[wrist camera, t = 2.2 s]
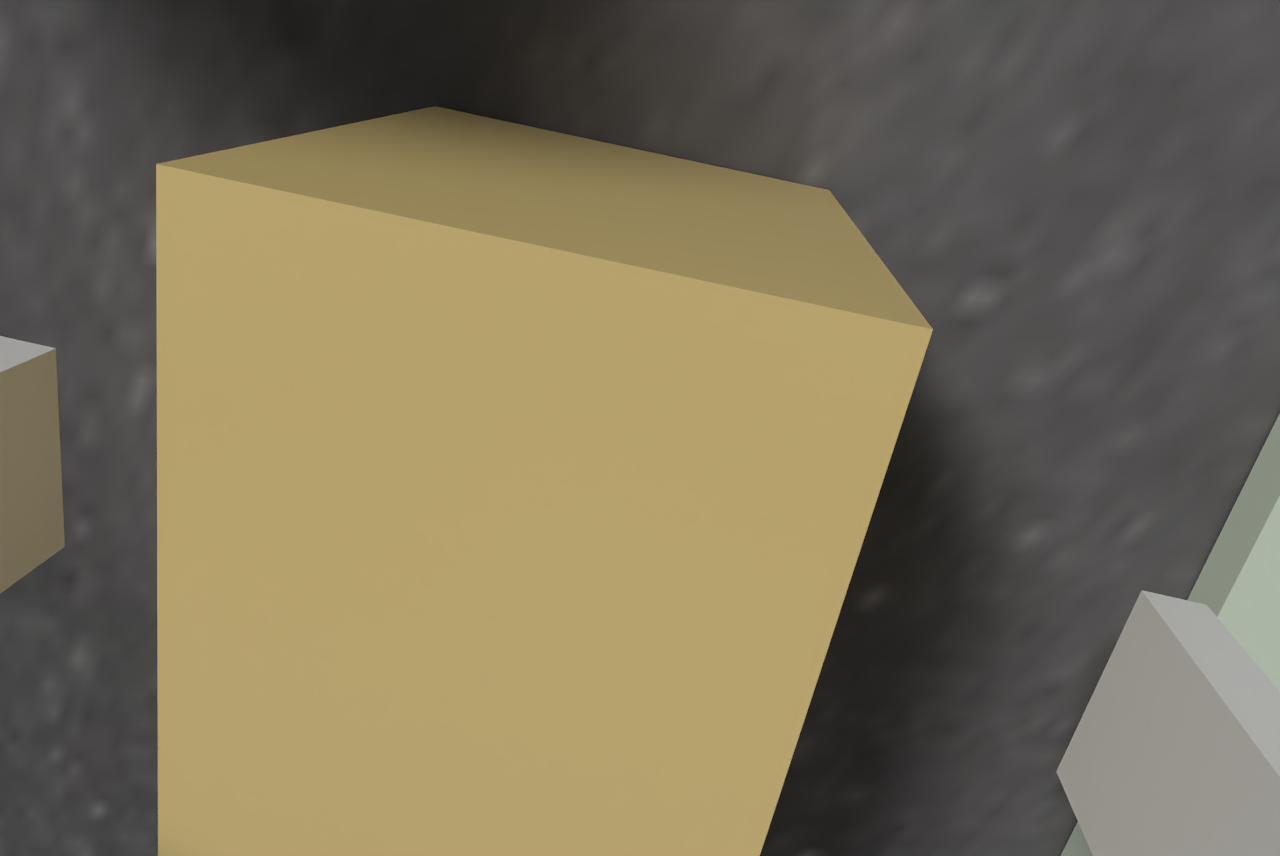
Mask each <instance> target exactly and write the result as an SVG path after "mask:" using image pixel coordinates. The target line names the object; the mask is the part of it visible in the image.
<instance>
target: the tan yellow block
mask: <svg viewBox="0 0 1280 856" xmlns="http://www.w3.org/2000/svg"><path fill="white" fill-rule="evenodd" d="M156 236H157V620H158V856H760V853H761V850H762V847H763V844H764V841H765V838H766V835H767V832H768V829H769V826H770V823H771V820H772V817H773V814H774V811H775V808H776V805H777V802H778V799H779V796H780V793H781V790H782V787H783V784H784V780H785V777H786V774H787V771H788V768H789V765H790V762H791V759H792V756H793V753H794V750H795V747H796V744H797V741H798V738H799V735H800V732H801V729H802V726H803V723H804V720H805V717H806V714H807V711H808V708H809V705H810V701H811V698H812V695H813V692H814V689H815V686H816V683H817V680H818V677H819V674H820V671H821V668H822V665H823V662H824V659H825V656H826V653H827V650H828V647H829V644H830V641H831V638H832V635H833V632H834V629H835V626H836V623H837V619H838V616H839V613H840V610H841V607H842V604H843V601H844V598H845V595H846V592H847V589H848V586H849V583H850V580H851V577H852V574H853V571H854V568H855V565H856V562H857V559H858V556H859V553H860V550H861V547H862V544H863V540H864V537H865V534H866V531H867V528H868V525H869V522H870V519H871V516H872V513H873V510H874V507H875V504H876V501H877V498H878V495H879V492H880V489H881V486H882V483H883V480H884V477H885V474H886V471H887V468H888V465H889V461H890V458H891V455H892V452H893V449H894V446H895V443H896V440H897V437H898V434H899V431H900V428H901V425H902V422H903V419H904V416H905V413H906V410H907V407H908V404H909V401H910V398H911V395H912V392H913V389H914V386H915V383H916V379H917V376H918V373H919V370H920V367H921V364H922V361H923V358H924V355H925V352H926V349H927V346H928V343H929V340H930V337H931V334H932V331H933V329H932V328H931V326H930V325H929V324H928V322H927V321H926V320H925V318H924V317H923V316H922V314H921V313H920V312H919V310H918V309H917V308H916V306H915V305H914V304H913V302H912V301H911V300H910V298H909V297H908V296H907V294H906V293H905V291H904V290H903V289H902V287H901V286H900V285H899V283H898V282H897V281H896V279H895V278H894V277H893V275H892V274H891V273H890V271H889V270H888V269H887V267H886V266H885V265H884V263H883V262H882V261H881V259H880V258H879V257H878V255H877V254H876V252H875V251H874V250H873V248H872V247H871V246H870V244H869V243H868V242H867V240H866V239H865V238H864V236H863V235H862V234H861V232H860V231H859V230H858V228H857V227H856V226H855V224H854V223H853V222H852V220H851V219H850V217H849V216H848V215H847V213H846V212H845V211H844V209H843V208H842V207H841V205H840V204H839V203H838V201H837V200H836V199H835V197H834V196H833V195H832V193H831V192H830V191H829V190H826V189H822V188H817V187H812V186H807V185H803V184H798V183H793V182H789V181H784V180H779V179H775V178H770V177H765V176H760V175H756V174H751V173H746V172H742V171H737V170H732V169H728V168H723V167H718V166H714V165H709V164H704V163H699V162H695V161H690V160H685V159H681V158H676V157H671V156H667V155H662V154H657V153H653V152H648V151H643V150H638V149H634V148H629V147H624V146H620V145H615V144H610V143H606V142H601V141H596V140H592V139H587V138H582V137H577V136H573V135H568V134H563V133H559V132H554V131H549V130H545V129H540V128H535V127H530V126H526V125H521V124H516V123H512V122H507V121H502V120H498V119H493V118H488V117H484V116H479V115H474V114H469V113H465V112H460V111H455V110H451V109H446V108H441V107H437V106H433V107H428V108H424V109H419V110H414V111H409V112H404V113H400V114H395V115H390V116H385V117H380V118H376V119H371V120H366V121H361V122H356V123H352V124H347V125H342V126H337V127H332V128H328V129H323V130H318V131H313V132H308V133H304V134H299V135H294V136H289V137H284V138H279V139H275V140H270V141H265V142H260V143H255V144H251V145H246V146H241V147H236V148H231V149H227V150H222V151H217V152H212V153H207V154H203V155H198V156H193V157H188V158H183V159H179V160H174V161H169V162H164V163H159V164H156Z"/></svg>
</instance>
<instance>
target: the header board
mask: <svg viewBox="0 0 1280 856" xmlns="http://www.w3.org/2000/svg"><path fill="white" fill-rule="evenodd" d="M1187 601H1192V602H1196V603H1201V604H1205V605H1207V606H1208V607H1209V608H1210V609H1211V611H1212V612H1213V613H1214V614H1215V615H1216V617H1217V618H1218V619H1219V620H1220V621H1221V623H1222V624H1223V625H1224V626H1225V627H1226V629H1227V630H1228V631H1229V632H1230V633H1231V635H1232V636H1233V637H1234V638H1235V639H1236V640H1237V642H1238V643H1239V644H1240V645H1241V646H1242V648H1243V649H1244V650H1245V651H1246V652H1247V654H1248V655H1249V656H1250V657H1251V658H1252V660H1253V661H1254V662H1255V663H1256V664H1257V666H1258V667H1259V668H1260V669H1261V670H1262V672H1263V673H1264V674H1265V675H1266V676H1267V677H1268V679H1269V680H1270V681H1271V682H1272V683H1273V685H1274V686H1275V687H1276V688H1277V689H1278V691H1279V692H1280V414H1279V416H1278V418H1277V420H1276V422H1275V424H1274V426H1273V428H1272V430H1271V432H1270V434H1269V436H1268V438H1267V440H1266V442H1265V444H1264V446H1263V448H1262V450H1261V452H1260V454H1259V456H1258V458H1257V460H1256V462H1255V464H1254V466H1253V468H1252V470H1251V472H1250V474H1249V476H1248V478H1247V480H1246V482H1245V484H1244V486H1243V488H1242V490H1241V493H1240V495H1239V497H1238V499H1237V501H1236V503H1235V505H1234V507H1233V509H1232V511H1231V513H1230V515H1229V517H1228V519H1227V521H1226V523H1225V525H1224V527H1223V529H1222V531H1221V533H1220V535H1219V537H1218V539H1217V541H1216V543H1215V545H1214V547H1213V549H1212V551H1211V553H1210V555H1209V557H1208V559H1207V561H1206V563H1205V565H1204V567H1203V569H1202V571H1201V573H1200V575H1199V577H1198V579H1197V581H1196V583H1195V585H1194V587H1193V589H1192V591H1191V593H1190V596H1189V598H1188V600H1187ZM1061 856H1093V855H1092V852H1091V850H1090V848H1089V846H1088V843H1087V841H1086V839H1085V836H1084V834H1083V832H1082V830H1081V827H1080V825H1079V823H1078V822H1077V824H1076V826H1075V828H1074V830H1073V832H1072V834H1071V836H1070V838H1069V840H1068V842H1067V844H1066V846H1065V848H1064V850H1063V852H1062V854H1061Z"/></svg>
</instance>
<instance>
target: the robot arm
mask: <svg viewBox="0 0 1280 856" xmlns="http://www.w3.org/2000/svg"><path fill="white" fill-rule="evenodd" d="M63 547H65V544H64V522H63V500H62V478H61V456H60V434H59V412H58V390H57V368H56V348H51V347H47V346H42V345H38V344H33V343H29V342H24V341H20V340H15V339H11V338H6V337H2V336H0V593H2V592H3V591H4V590H6V589H7V588H8V587H10V586H11V585H13V584H14V583H15V582H17V581H18V580H19V579H21V578H22V577H23V576H25V575H26V574H28V573H29V572H30V571H32V570H33V569H34V568H36V567H37V566H39V565H40V564H41V563H43V562H44V561H45V560H47V559H48V558H50V557H51V556H52V555H54V554H55V553H56V552H58V551H59V550H60V549H62V548H63ZM1056 772H1057V774H1058V777H1059V779H1060V781H1061V784H1062V786H1063V788H1064V790H1065V793H1066V795H1067V797H1068V800H1069V802H1070V804H1071V807H1072V809H1073V811H1074V813H1075V816H1076V818H1077V820H1078V823H1079V825H1080V827H1081V830H1082V832H1083V834H1084V836H1085V839H1086V841H1087V843H1088V846H1089V848H1090V850H1091V852H1092V855H1093V856H1280V692H1279V691H1278V689H1277V688H1276V687H1275V686H1274V685H1273V683H1272V682H1271V681H1270V680H1269V679H1268V677H1267V676H1266V675H1265V674H1264V673H1263V672H1262V670H1261V669H1260V668H1259V667H1258V666H1257V664H1256V663H1255V662H1254V661H1253V660H1252V658H1251V657H1250V656H1249V655H1248V654H1247V652H1246V651H1245V650H1244V649H1243V648H1242V646H1241V645H1240V644H1239V643H1238V642H1237V640H1236V639H1235V638H1234V637H1233V636H1232V635H1231V633H1230V632H1229V631H1228V630H1227V629H1226V627H1225V626H1224V625H1223V624H1222V623H1221V621H1220V620H1219V619H1218V618H1217V617H1216V615H1215V614H1214V613H1213V612H1212V611H1211V609H1210V608H1209V607H1208V606H1207V605H1205V604H1201V603H1196V602H1192V601H1187V600H1183V599H1178V598H1174V597H1169V596H1165V595H1160V594H1156V593H1151V592H1147V591H1141V593H1140V595H1139V597H1138V599H1137V601H1136V603H1135V605H1134V608H1133V610H1132V612H1131V614H1130V616H1129V618H1128V620H1127V622H1126V625H1125V627H1124V629H1123V631H1122V633H1121V635H1120V637H1119V639H1118V642H1117V644H1116V646H1115V648H1114V650H1113V652H1112V654H1111V657H1110V659H1109V661H1108V663H1107V665H1106V667H1105V669H1104V671H1103V674H1102V676H1101V678H1100V680H1099V682H1098V684H1097V686H1096V688H1095V691H1094V693H1093V695H1092V697H1091V699H1090V701H1089V703H1088V705H1087V708H1086V710H1085V712H1084V714H1083V716H1082V718H1081V720H1080V722H1079V725H1078V727H1077V729H1076V731H1075V733H1074V735H1073V737H1072V739H1071V742H1070V744H1069V746H1068V748H1067V750H1066V752H1065V754H1064V756H1063V759H1062V761H1061V763H1060V765H1059V767H1058V769H1057V771H1056Z"/></svg>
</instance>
